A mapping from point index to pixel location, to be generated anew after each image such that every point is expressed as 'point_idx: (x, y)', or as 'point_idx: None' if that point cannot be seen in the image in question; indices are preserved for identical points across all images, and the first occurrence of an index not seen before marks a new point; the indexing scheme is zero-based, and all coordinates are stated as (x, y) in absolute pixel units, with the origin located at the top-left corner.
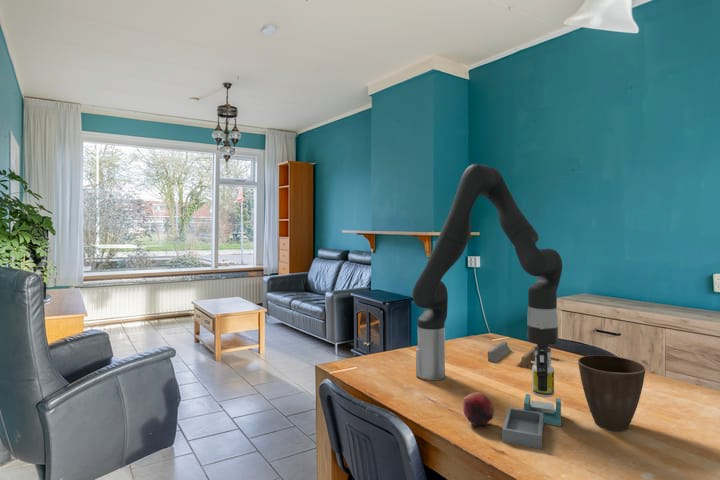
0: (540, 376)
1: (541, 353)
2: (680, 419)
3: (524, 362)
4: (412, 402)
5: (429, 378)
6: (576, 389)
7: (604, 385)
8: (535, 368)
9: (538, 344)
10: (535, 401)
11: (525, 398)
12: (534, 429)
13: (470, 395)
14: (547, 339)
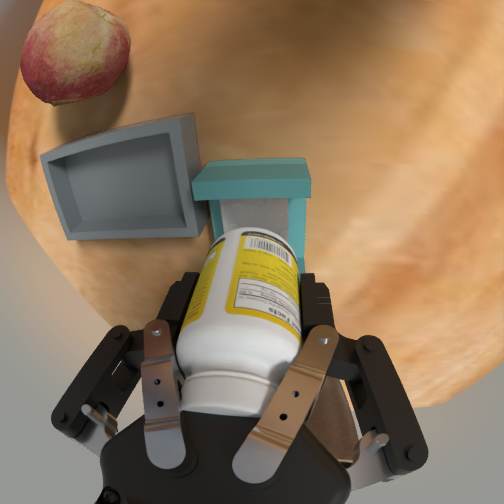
0: (134, 335)
1: (88, 448)
2: (346, 396)
3: None
4: None
5: None
6: (477, 287)
7: None
8: (184, 341)
9: (98, 498)
10: (282, 210)
11: (249, 182)
12: (137, 205)
13: (29, 36)
14: None
